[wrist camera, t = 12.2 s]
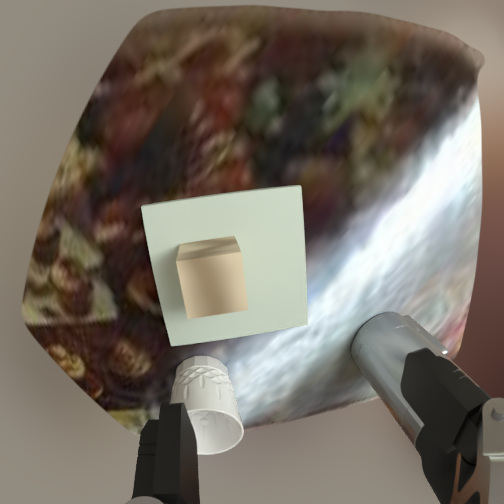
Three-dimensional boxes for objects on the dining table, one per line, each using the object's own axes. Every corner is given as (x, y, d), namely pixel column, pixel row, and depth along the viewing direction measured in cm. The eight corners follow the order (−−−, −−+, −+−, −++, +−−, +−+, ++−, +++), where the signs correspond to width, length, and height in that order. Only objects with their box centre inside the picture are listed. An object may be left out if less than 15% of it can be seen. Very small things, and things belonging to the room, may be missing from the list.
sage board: (298, 184, 32) (301, 185, 31) (305, 320, 37) (307, 324, 36) (142, 205, 30) (141, 206, 29) (171, 341, 35) (171, 346, 34)
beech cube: (234, 235, 32) (241, 251, 26) (240, 286, 33) (248, 310, 28) (179, 243, 31) (176, 261, 26) (189, 293, 33) (187, 319, 27)
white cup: (175, 345, 35) (171, 403, 26) (239, 356, 37) (252, 413, 28) (167, 392, 37) (163, 449, 28) (225, 400, 39) (233, 457, 30)
